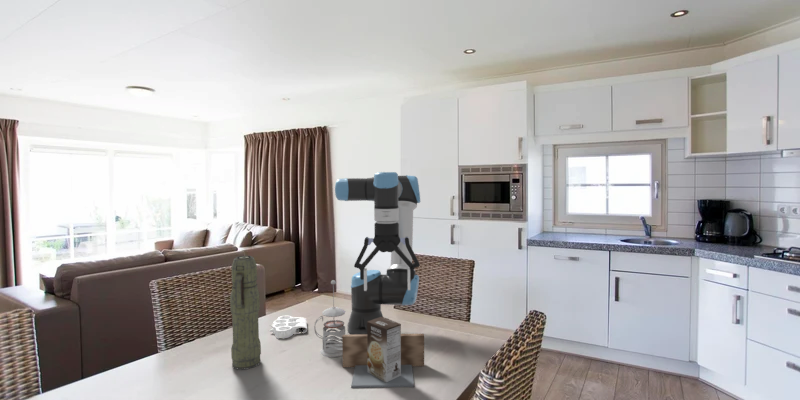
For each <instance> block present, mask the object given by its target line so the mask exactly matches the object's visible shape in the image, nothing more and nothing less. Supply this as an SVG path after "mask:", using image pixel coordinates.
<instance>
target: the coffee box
mask: <svg viewBox="0 0 800 400" xmlns="http://www.w3.org/2000/svg"><path fill="white" fill-rule="evenodd" d="M401 334H402V324H401V323H399V322H396V321H394V320H392V319H389V318H386V317H385V316H383V317H379V318H376V319H373V320H371V321H368V322H367V370H368V371H367V372H368V373H370V374H372V375H373V376H375V377H377V378H379V379H381V380H382V381H384V382H389V381H391V380H393V379H395V378H397V377H399V376H401Z"/></svg>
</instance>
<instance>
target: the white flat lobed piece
mask: <svg viewBox="0 0 800 400" xmlns="http://www.w3.org/2000/svg"><path fill="white" fill-rule="evenodd" d="M307 320H308V319H307V318H306V317H303V316H297V317H295V316H291V315H281V316H278V317H277V319H275V320H274V321H273V322H272V324H271V325H269V327H271V329H269V330H268V332H270V333H272V332H273V333H272V335H274V334H275V335H274V337H275V338H276V339H279V338H283V339H287V338H291V336H293V334H294V335H299V334H300V333H299V328H300V329H301V328H303V329H302V330H303V334H305V333H307V332H308V322H307Z"/></svg>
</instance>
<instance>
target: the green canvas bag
mask: <svg viewBox="0 0 800 400" xmlns="http://www.w3.org/2000/svg"><path fill="white" fill-rule="evenodd" d="M257 280H258V265H257V262H256V260H255V258H254V257H253V256H251V255H241V256H236V257H235V258H233V261H232V264H231V283H232V286H231V293H230V295H229V299H230V301H229V302H230V305H229V306H230V313H231V317H232V321H231V322H232V323H231V324H232V344H231V347H230V349H231V351H230V352H231V360H232V363H231V366H232V368H233V367H234V369H235V368H238V369H237V370H245V369H244V368H249V369H252V368H255V367H256V365H257V366H259V364H260V363H261V355H262V347H261V340H260V337H259V335H260V333H259V330H260V329H259V328H260V327H259V311H260V304H261V303H260V302H261V301H260V291H259V288H258V283H257ZM254 366H255V367H254ZM251 367H252V368H251Z"/></svg>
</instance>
